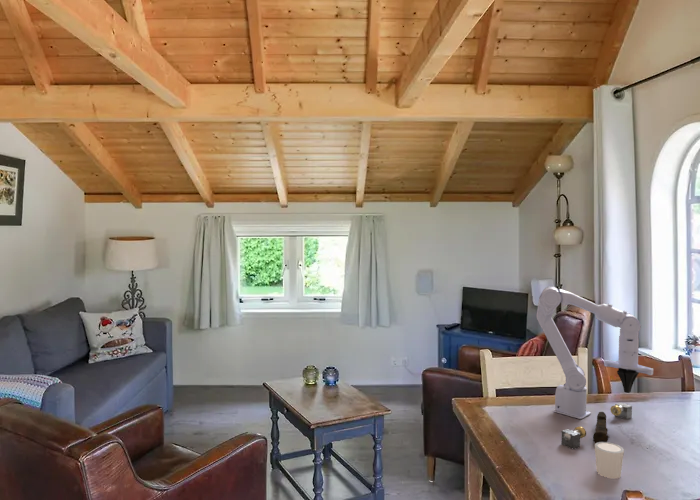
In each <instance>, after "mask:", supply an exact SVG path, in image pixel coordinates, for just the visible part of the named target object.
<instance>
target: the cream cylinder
mask: <svg viewBox="0 0 700 500" xmlns="http://www.w3.org/2000/svg"><path fill="white" fill-rule="evenodd" d="M624 453H625V448H624V447H623V446H621V445H619V444H617V443H613V442H609V441H607V442H598V443H594V455H595V467H596V473H597V472H598V473H597V474H598V475H599V474H600V475H599V476H601V477H603V476H604V478H606V477H607V478H606V479H609V480H610V479H611V480H612V479H615V480H617V479H620V478H621V476H622V469H623V462H624V461H623V460H624Z"/></svg>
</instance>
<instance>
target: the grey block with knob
mask: <svg viewBox="0 0 700 500" xmlns="http://www.w3.org/2000/svg"><path fill="white" fill-rule="evenodd" d="M609 410H610V413H611V414H612V415H613V416H615V417H618V418H620V419H625V420H629V419H632V417H633V416H632V414H633V406H632V405H631V404H628V403H623V402H617V403H615V405H611V407H610V409H609Z"/></svg>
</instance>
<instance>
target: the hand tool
mask: <svg viewBox="0 0 700 500" xmlns="http://www.w3.org/2000/svg"><path fill="white" fill-rule="evenodd" d="M608 432H609V429H608V428H607V414H606V413H605V412H604V411H599V412H598V413H597V416H596V423H595V432H593V436H592V441H593V443H594V444H596V443H598V442H609V438H610V437H609V434H608Z"/></svg>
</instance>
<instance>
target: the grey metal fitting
mask: <svg viewBox="0 0 700 500" xmlns="http://www.w3.org/2000/svg"><path fill="white" fill-rule="evenodd" d="M586 436H587V431H586V429H585V427H583V426H577V427H575V428H574V430H572V429H569V428H566V429H563V430H561V445H562V446H565V447H567V448H569V447H570V449H572V448H573V449H572V450H576V449H578V447H579V448H580V447H581V439H584V438H585V437H586ZM575 448H576V449H575Z"/></svg>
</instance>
